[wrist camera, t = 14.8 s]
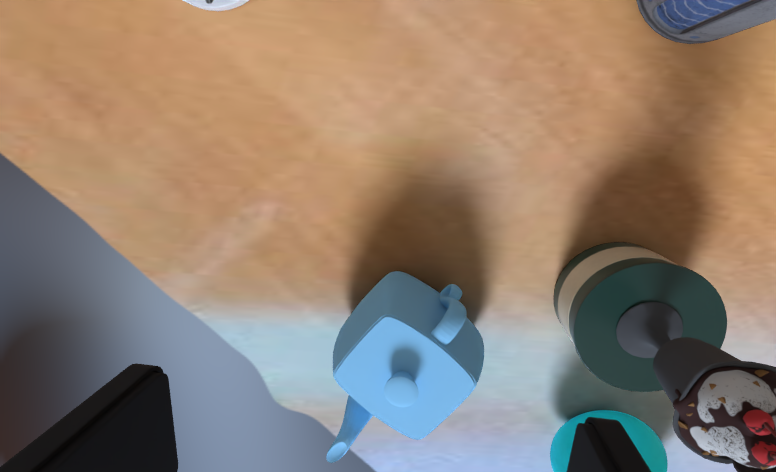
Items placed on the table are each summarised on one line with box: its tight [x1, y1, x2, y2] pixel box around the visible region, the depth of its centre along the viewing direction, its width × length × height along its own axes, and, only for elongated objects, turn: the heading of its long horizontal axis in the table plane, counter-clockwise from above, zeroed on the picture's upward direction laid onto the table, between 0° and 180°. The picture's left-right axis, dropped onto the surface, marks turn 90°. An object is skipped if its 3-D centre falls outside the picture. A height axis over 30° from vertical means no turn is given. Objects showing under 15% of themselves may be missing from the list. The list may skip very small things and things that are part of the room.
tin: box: [554, 242, 727, 392], centre depth 35 cm, size 11×11×7 cm
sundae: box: [616, 302, 776, 472], centre depth 25 cm, size 7×7×15 cm
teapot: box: [327, 271, 484, 463], centre depth 37 cm, size 12×18×12 cm
